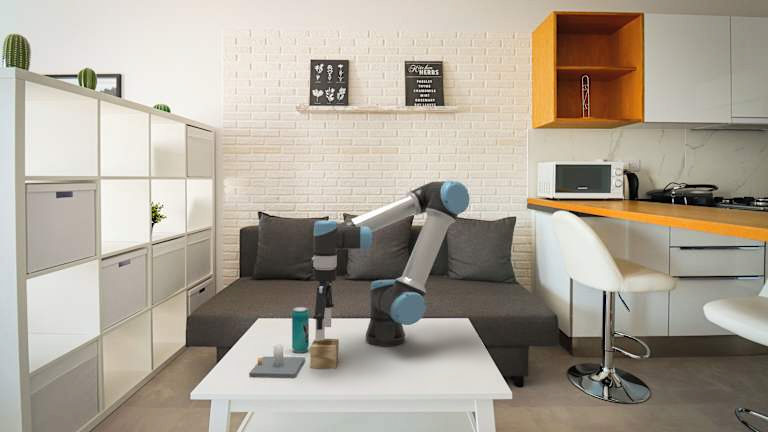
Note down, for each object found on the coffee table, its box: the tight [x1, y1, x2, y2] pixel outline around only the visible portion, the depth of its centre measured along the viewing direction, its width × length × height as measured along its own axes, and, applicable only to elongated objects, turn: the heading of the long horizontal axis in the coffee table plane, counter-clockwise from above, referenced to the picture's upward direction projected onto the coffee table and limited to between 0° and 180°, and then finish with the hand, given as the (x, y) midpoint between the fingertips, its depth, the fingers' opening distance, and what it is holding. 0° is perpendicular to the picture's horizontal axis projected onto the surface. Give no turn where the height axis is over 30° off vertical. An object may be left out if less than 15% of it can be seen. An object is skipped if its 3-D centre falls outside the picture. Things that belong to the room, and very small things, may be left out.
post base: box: [248, 344, 306, 379], centre depth 144 cm, size 14×14×7 cm
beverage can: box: [291, 306, 310, 354], centre depth 160 cm, size 6×6×15 cm
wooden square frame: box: [309, 338, 340, 370], centre depth 148 cm, size 8×8×7 cm
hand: (323, 332), depth 147 cm, fingers open, 13 cm apart
